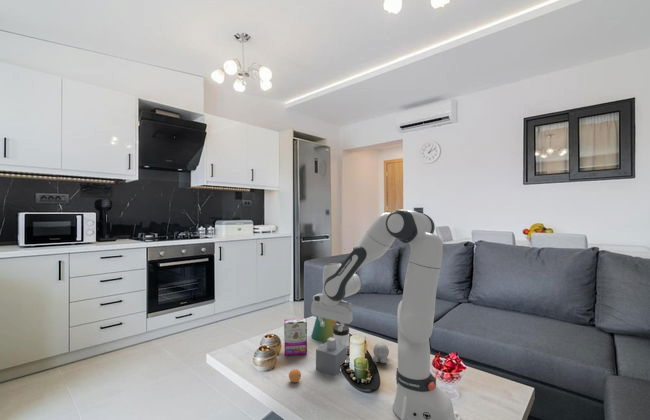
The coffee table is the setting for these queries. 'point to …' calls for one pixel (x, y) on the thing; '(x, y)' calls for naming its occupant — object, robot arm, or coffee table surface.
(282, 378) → the coffee table surface
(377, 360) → the chubby cartoon animal
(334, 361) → the grey faceted cube
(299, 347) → the candy bar box
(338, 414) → the coffee table surface
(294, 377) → the ball
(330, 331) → the decorative cone
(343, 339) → the jar
